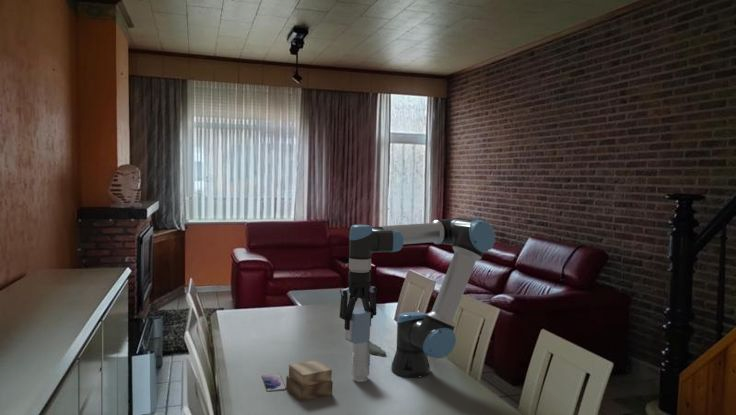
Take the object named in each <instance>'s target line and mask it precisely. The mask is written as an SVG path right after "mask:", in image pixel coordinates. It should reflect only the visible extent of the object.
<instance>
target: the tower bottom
mask: <svg viewBox="0 0 736 415" xmlns="http://www.w3.org/2000/svg"><path fill="white" fill-rule="evenodd" d="M285 380H286V382H285V384H286V385H285V387H286V391H288V392H289V393H290V394H291V395H292V396H293V397H295V398H296V399H297V400H299V401H300V402H305V401H309V400H315V399H318V398H323V397H328V396H332V395H333V383H334V382H333V380H331V381H328V382H323V383H319V384H314V385H309V386H304V387H302V386H301V385H300V384H299V383H297V382H296V381H295V380H293V379H292V378H291V377H289V375H286V379H285Z"/></svg>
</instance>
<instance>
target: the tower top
mask: <svg viewBox="0 0 736 415" xmlns="http://www.w3.org/2000/svg"><path fill="white" fill-rule="evenodd" d="M332 372H333V371H332V368H330V367H329V366H327V365H325V364H324V363H322V362H321V361H320V360H318V359H315V360H309V361H303V362H298V363H293V364H289V365H288V376H289V377H291V378H292V379H293V380H295V381H296V382H297V383H299V384H300V385H301V386H302V387H304V386H309V385H314V384H319V383H323V382H328V381H332V377H333V376H332V374H333V373H332Z"/></svg>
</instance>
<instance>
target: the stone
mask: <svg viewBox="0 0 736 415" xmlns="http://www.w3.org/2000/svg"><path fill="white" fill-rule="evenodd" d="M369 353H370V355H375V356H378V355H379V356H378V357H386V355H387V353H386V351H385V350H383V349H382V347H381V346H378V345H377V344H375V343H373V342H371V341H370V350H369Z"/></svg>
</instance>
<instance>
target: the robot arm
mask: <svg viewBox="0 0 736 415" xmlns="http://www.w3.org/2000/svg"><path fill="white" fill-rule="evenodd" d="M348 241H349V244H348V245H349V246H348V248H349V249H348V250H349V252H348V254H349V255H348V269H349V271H348V276H347V277H348V279H347V280H348V285H347V287H346V288H344V289H343V288H341V289H340V290H339V292H340V305H339V306H340V308H339V318H340V319H342V320H343V321H344V330H345V339H346V338H347V339H349V340H352V324H353V321H352V320H351V317H352V313H353V310H354V309H355V305H356V302H357V301H358V299H361V302H362V306H363V309H364V310H366V311H368V312H371V314H370V328H371V326H372V319H373V318H374V316H377V312H378V311H377V292H378V287H377V286H373V285H371V284H370V283H371V278H372V277H371V275H372V274H371V270H372V254H374V253H395V252H399V251H401V250H402V248H403V246H404V245H412V244H424V243H425V244H427V243H433V244H435V245H448V246H449V245H450V246H452V250H453V252H454V253H453V256H452V258H451V261H450V264H449V265H448V268H447V271H446V273H445V276H444V278H443V280H442V284H441V285H440V286H441V287H440V288H439V291H438V294H437V297H436V299H435V301H434V303H433V305H432V309H431V311H430V312H428V313H427V312H423V311H422V312H421V311H409V312H408V311H407V312H401V313H400V314H399V315H398V316H397V322H396V350H395V354H394V357H393V359H392V362H391V370H390V371H391V372H392V373H394V374H395V375H398V376H401V377H404V378H405V377H406V378H420V377H419V376H423V377H425V376H424V375H426V376H427V374H428V373H429V372H431V366H430V362H429V359H428V357H431V358H434V359H443V358H445V357H447V356H449V355H450V354H451V353H452V351H453V350H454V348H455V347H456V344H457V342H456V341H457V338H456V334H455V333H454V330H455V327H456V325H455V323H454V319H455V317H456V316H455V315H456V314H457V311H458V308H459V307H460V303H461V301H462V297H463V295H464V293H465V290H466V288H467V285H468V282H469V280H470V278H471V275H472V272H473V270H474V267H475V265H476V262H477V261H479V260H481V259H482V258H483V256H484V253H486V252H489V251H490V250H492V248H493V247H494V244H495V241H496V235H495V232H494V228H493V226H492V225H491V223H489V222H488V221H486V220H481V219H479V218H467V217H466V218H465V217H452V218H451V217H450V218H446V219H445V218H444V219H435V220H432V222H429V223H428V222H426V223H410V224H409V223H408V224H395V225H394V224H393V225H380V226H377V225H375V226H372V225H368V224H353V225H351V226H350V229H349V237H348ZM368 292H369V295H368ZM429 374H430V373H429ZM429 374H428V375H429Z"/></svg>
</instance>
